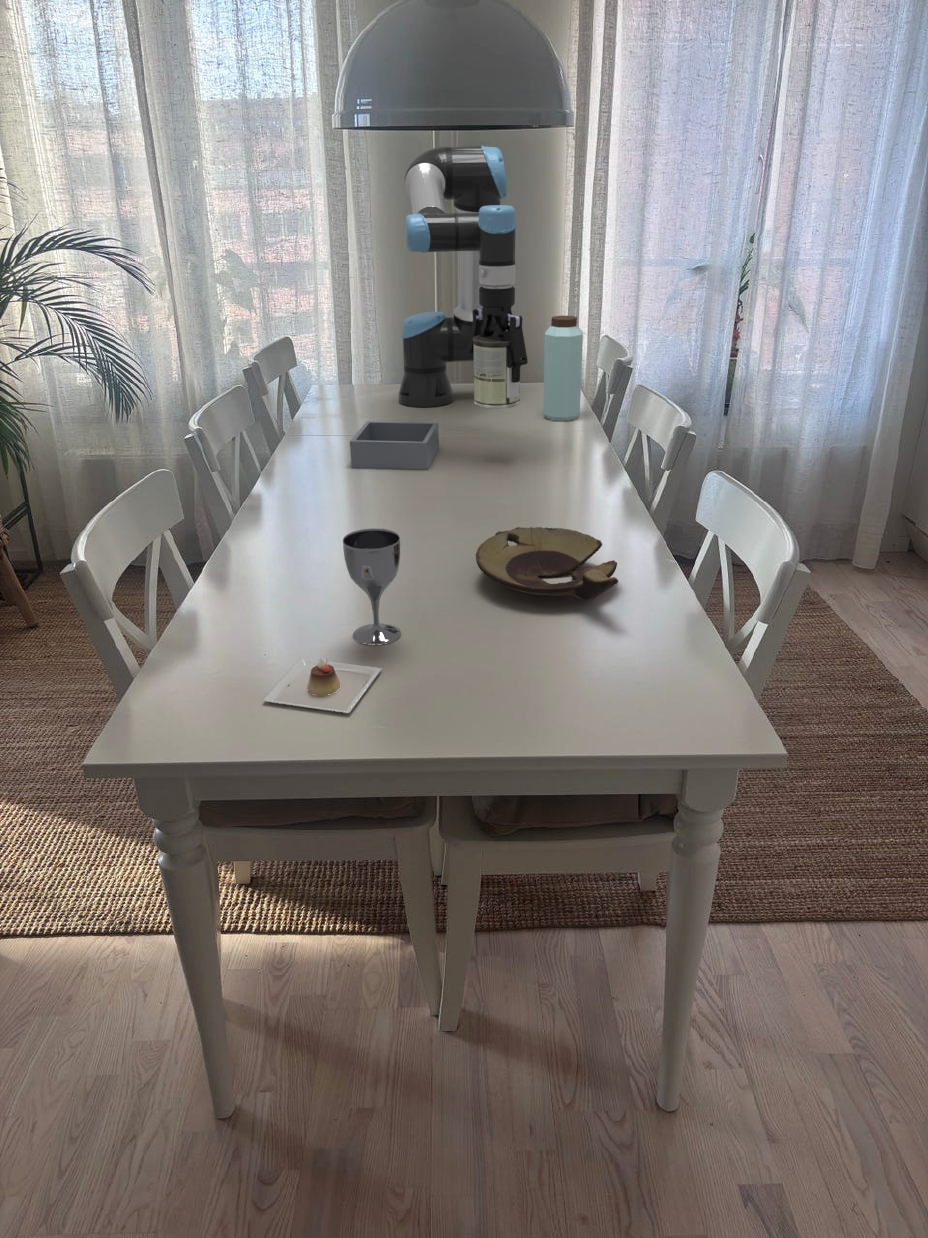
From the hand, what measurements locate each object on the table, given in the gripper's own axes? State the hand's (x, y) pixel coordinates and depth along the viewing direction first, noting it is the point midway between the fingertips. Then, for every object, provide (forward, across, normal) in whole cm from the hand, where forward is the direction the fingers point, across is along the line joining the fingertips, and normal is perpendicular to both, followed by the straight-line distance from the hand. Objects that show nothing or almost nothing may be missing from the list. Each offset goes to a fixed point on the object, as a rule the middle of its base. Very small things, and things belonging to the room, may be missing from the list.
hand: (496, 392), depth 214 cm
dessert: (+15, +65, -83) cm, 106 cm away
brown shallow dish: (+15, +60, -38) cm, 73 cm away
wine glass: (+14, +56, -69) cm, 90 cm away
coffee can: (+3, 0, 0) cm, 3 cm away
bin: (+15, -16, -16) cm, 28 cm away
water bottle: (+16, -18, +36) cm, 44 cm away
